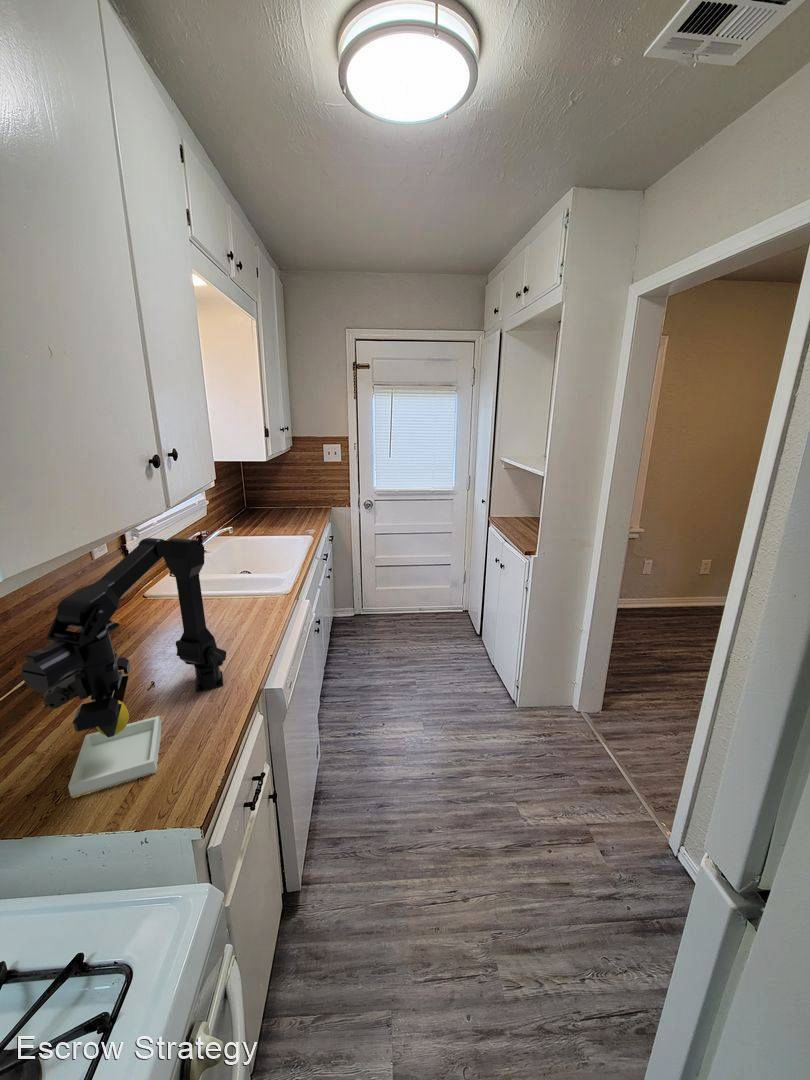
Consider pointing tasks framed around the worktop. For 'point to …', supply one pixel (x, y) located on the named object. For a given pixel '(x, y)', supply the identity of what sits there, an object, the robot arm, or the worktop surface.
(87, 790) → the tray
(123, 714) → the lemon
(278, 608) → the worktop surface
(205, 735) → the worktop surface
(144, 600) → the worktop surface
